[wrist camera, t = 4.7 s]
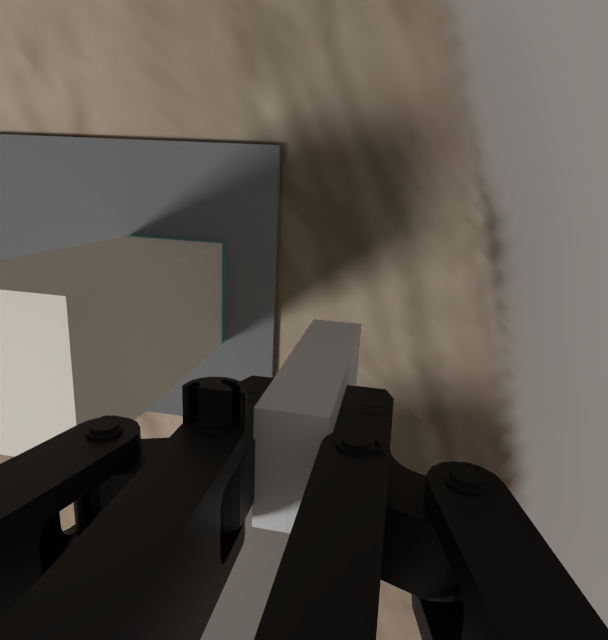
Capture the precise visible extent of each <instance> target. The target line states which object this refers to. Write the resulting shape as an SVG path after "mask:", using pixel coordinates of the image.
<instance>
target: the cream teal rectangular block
mask: <svg viewBox="0 0 608 640" xmlns="http://www.w3.org/2000/svg"><path fill="white" fill-rule="evenodd" d="M225 277H226V242H217V241H204V240H191V239H178V238H164V237H151V236H138V235H127V236H122V237H117V238H112V239H106V240H101V241H96V242H91V243H86V244H81V245H76V246H71V247H66V248H61V249H56V250H51V251H46V252H40V253H35V254H30V255H25V256H20V257H15V258H10V259H5V260H0V454H2V455H8V456H14V457H15V456H17V455H19V454H21V453H23V452H25V451H27V450H29V449H31V448H33V447H35V446H37V445H39V444H41V443H43V442H45V441H47V440H49V439H51V438H53V437H55V436H56V435H58V434H60V433H62V432H64V431H66V430H68V429H70V428H72V427H74V426H76V425H78V424H80V423H83V422H85V421H88V420H91V419H95V418H100V417H102V416H109V415H110V416H112V415H115V416H120V417H126V418H130V419H132V420H135V419H136V418H137V417H139V416H140V415H141V414H142V413H143V412H144V411H145V410H147V409H148V408H149V407H150V406H151V405H152V404H154V403H155V402H156V401H157V400H158V399H159V398H160V397H162V396H163V395H164V394H165V393H166V392H167V391H168V390H170V389H171V388H172V387H173V386H174V385H175V384H177V383H178V382H179V381H180V380H181V379H182V378H183V377H185V376H186V375H187V374H188V373H189V372H190V371H191V370H193V369H194V368H195V367H196V366H197V365H198V364H199V363H201V362H202V361H203V360H204V359H205V358H206V357H208V356H209V355H210V354H211V353H212V352H213V351H214V350H216V349H217V348H218V347H219V346H220V345H221V344H222V343H224V342H225Z"/></svg>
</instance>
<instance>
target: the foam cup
mask: <svg viewBox="0 0 608 640" xmlns="http://www.w3.org/2000/svg"><path fill="white" fill-rule="evenodd" d="M289 535H290V533H285V532H279V531H273V530H268V529H262V528H256V527H252V506H251V509H250V511H249V513H248V515H247V517H246V519H245V539H244V544H243V546H242V548H241V551H240V553H239V555H238V557H237V559H236V562H235V564H234V566H233V568H232V570H231V573H230V575H229V577H228V579H227V582H226V584H225V586H224V588H223V590H222V593H221V595H220V597H219V599H218V602H217V604H216V606H215V608H214V610H213V613H212V615H211V617H210V619H209V621H208V624H207V626H206V628H205V630H204V633H203V635H202V637H201V639H200V640H254V638H255V635H256V632H257V629H258V626H259V623H260V620H261V617H262V614H263V611H264V609H265V606H266V603H267V600H268V597H269V594H270V591H271V588H272V585H273V582H274V579H275V576H276V573H277V570H278V568H279V565H280V562H281V559H282V556H283V553H284V550H285V547H286V544H287V541H288V538H289Z"/></svg>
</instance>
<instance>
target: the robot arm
mask: <svg viewBox="0 0 608 640" xmlns="http://www.w3.org/2000/svg"><path fill="white" fill-rule="evenodd" d="M360 333H361V324H354V323H344V322H334V321H323V320H313V322H312V323H311V324H310V326H309V327H308V329H307V330H306V332H305V333H304V335H303V336H302V338H301V339H300V341H299V342H298V344H297V345H296V347H295V348H294V349H293V351H292V352H291V354H290V355H289V357H288V358H287V360H286V361H285V363H284V364H283V366H282V367H281V369H280V370H279V371H278V373H277V374H276V376H275V377H274V378H271V377H263V376H254V375H252V376H250V377H248V378H246V379H244V380H242V381H238V380H236V379H232V378H227V377H204V378H198V379H195V380H191V381H189V382H187V383H185V384H184V385H182V402H183V424H182V425H181V426H180V427H179V428H178V429H177V430H176V431H175V432H174V433H173V434H172V435H171V437H170V438H153V439H141V436H140V426H139V425H138V423H137V422H136V421H134V420H132V419H130V418H126V417H120V416H115V415H112V416H110V415H109V416H102V417H100V418H95V419H91V420H88V421H85V422H83V423H80V424H78V425H76V426H74V427H72V428H70V429H68V430H66V431H64V432H62V433H60V434H58V435H56V436H55V437H53V438H51V439H49V440H47V441H45V442H43V443H41V444H39V445H37V446H35V447H33V448H31V449H29V450H27V451H25V452H23V453H21V454H19V455H17V456H15V457H13V458H11V459H9V460H7V461H5V462H3V463H1V464H0V640H200V639H201V637H202V635H203V633H204V630H205V628H206V626H207V624H208V621H209V619H210V617H211V615H212V613H213V610H214V608H215V606H216V604H217V602H218V599H219V597H220V595H221V593H222V590H223V588H224V586H225V584H226V582H227V579H228V577H229V575H230V573H231V570H232V568H233V566H234V564H235V562H236V559H237V557H238V555H239V553H240V551H241V548H242V546H243V544H244V539H245V519H246V517H247V515H248V513H249V511H250V509H251V506H252V527H256V528H262V529H268V530H273V531H279V532H285V533H290V535H289V538H288V541H287V544H286V547H285V550H284V553H283V556H282V559H281V562H280V565H279V568H278V570H277V573H276V576H275V579H274V582H273V585H272V588H271V591H270V594H269V597H268V600H267V603H266V606H265V609H264V611H263V614H262V617H261V620H260V623H259V626H258V629H257V632H256V635H255V638H254V640H376V631H377V618H378V605H379V592H380V579H381V580H383V581H385V582H387V583H389V584H392V585H394V586H396V587H398V588H400V589H402V590H405V591H407V592H409V593H411V594H412V607H413V611H414V614H415V617H416V621H417V624H418V627H419V631H420V634H421V637H422V640H608V628H607V627H606V625H605V624H604V623H603V621H602V620H601V619H600V617H599V616H598V614H597V613H596V611H595V610H594V609H593V607H592V606H591V604H590V603H589V602H588V600H587V599H586V597H585V596H584V595H583V593H582V592H581V590H580V589H579V588H578V586H577V585H576V584H575V582H574V580H573V579H572V578H571V576H570V575H569V573H568V572H567V571H566V569H565V568H564V567H563V565H562V564H561V562H560V561H559V559H558V558H557V557H556V555H555V554H554V553H553V551H552V550H551V548H550V547H549V546H548V544H547V543H546V541H545V540H544V538H543V537H542V536H541V534H540V533H539V531H538V530H537V529H536V527H535V526H534V524H533V523H532V522H531V520H530V519H529V517H528V516H527V515H526V513H525V512H524V510H523V509H522V508H521V506H520V505H519V503H518V502H517V501H516V499H515V498H514V496H513V495H512V494H511V492H510V491H509V489H508V488H507V487H506V485H505V484H504V483H503V482H502V481H501V480H500V479H499V478H498V477H497V476H496V475H495V474H493V473H492V472H490V471H488V470H486V469H484V468H482V467H480V466H478V465H475V464H474V465H473V464H472V463H467V462H455V461H453V462H443V463H439V464H437V465H435V466H432V467H431V468H430V470H429V471H428V473H427V476H425V475H422V474H419V473H416V472H414V471H411V470H409V469H407V468H406V467H404V466H402V465H401V464H399V463H398V462H397V461H396V460H395V459H394V458H393V456H392V454H391V452H390V440H391V426H392V413H393V398H392V396H391V395H390V394H389V393H388V392H387V390H385V389H377V388H368V387H360V386H356V384H357V372H358V359H359V346H360ZM73 502H74V511H75V522H76V524H75V525H74V526H72V527H71V528H69V529H67V530H65V531H62V529H61V524H60V514H59V511H61V510H62V509H64V508H65V507H67V506H68V505H70V504H71V503H73Z"/></svg>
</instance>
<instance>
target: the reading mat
mask: <svg viewBox="0 0 608 640" xmlns="http://www.w3.org/2000/svg"><path fill="white" fill-rule="evenodd" d="M280 165H281V145H264V144H238V143H213V142H188V141H162V140H137V139H111V138H86V137H60V136H35V135H9V134H0V260H5V259H10V258H15V257H20V256H25V255H30V254H35V253H40V252H46V251H51V250H56V249H61V248H66V247H71V246H76V245H81V244H86V243H91V242H96V241H101V240H106V239H112V238H117V237H122V236H127V235H138V236H151V237H164V238H178V239H191V240H204V241H217V242H226V277H225V342H224V343H222V344H221V345H220V346H219V347H218V348H217V349H216V350H214V351H213V352H212V353H211V354H210V355H209V356H208V357H206V358H205V359H204V360H203V361H202V362H201V363H199V364H198V365H197V366H196V367H195V368H194V369H193V370H191V371H190V372H189V373H188V374H187V375H186V376H185V377H183V378H182V379H181V380H180V381H179V382H178V383H177V384H175V385H174V386H173V387H172V388H171V389H170V390H168V391H167V392H166V393H165V394H164V395H163V396H162V397H160V398H159V399H158V400H157V401H156V402H155V403H154V404H152V405H151V406H150V407H149V408H148V409H147V410H145V411H152V412H159V413H166V414H173V415H181V416H183V402H182V385H184V384H185V383H187V382H189V381H191V380H195V379H198V378H204V377H227V378H232V379H236V380H238V381H242V380H244V379H246V378H248V377H250V376H252V375H254V376H263V377H271V378H273V375H274V345H275V315H276V285H277V255H278V225H279V195H280Z"/></svg>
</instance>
